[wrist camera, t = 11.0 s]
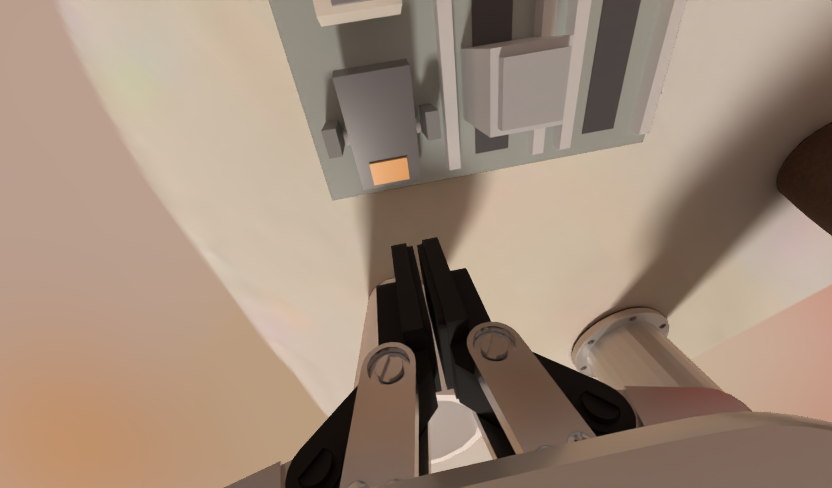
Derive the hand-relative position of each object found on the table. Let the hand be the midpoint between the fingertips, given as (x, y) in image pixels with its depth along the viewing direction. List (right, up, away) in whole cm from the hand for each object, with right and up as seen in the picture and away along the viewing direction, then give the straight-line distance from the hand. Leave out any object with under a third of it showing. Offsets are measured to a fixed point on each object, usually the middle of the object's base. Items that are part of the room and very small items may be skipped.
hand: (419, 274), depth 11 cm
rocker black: (-2, +8, +7) cm, 11 cm away
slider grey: (+5, +11, +8) cm, 15 cm away
